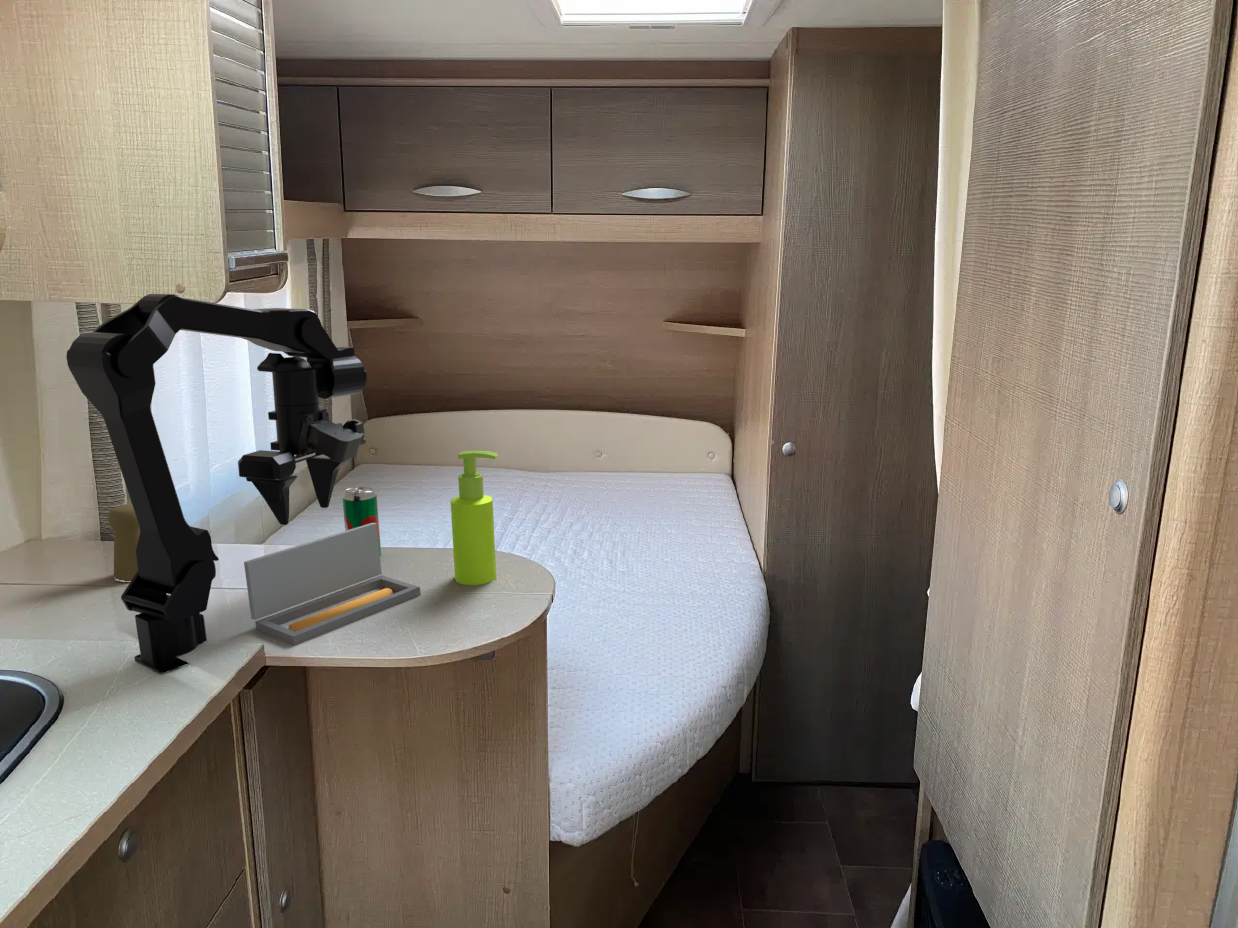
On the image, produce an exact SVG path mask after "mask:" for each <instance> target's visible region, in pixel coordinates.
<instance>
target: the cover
mask: <svg viewBox="0 0 1238 928" xmlns="http://www.w3.org/2000/svg"><path fill="white" fill-rule="evenodd" d="M243 564H244V565H243V566H244V567H243V568H244V573H245V580H246V588H247V595H248V603H249V609H250V611H249V612H250V617H251V618H250V619H252V620H255V621H257V620H260V619H263V618H266V617H268V616H271V615H274V614H277V613H279V612H280V611H281V612H282V611H285V610H288V609H290V608H291V607H292V608H293V607H296V606H299V605H301V604H304V603H307V602H310V601H313V599H314V600H315V599H318V598H321V597H324V596H326V595H329V594H332V593H335V592H337V591H340V590H343V589H346V588H348V587H351V586H354V585H357V584H359V583H362V582H365V581H368V580H370V579H373V578H376V577H379V576H381V575H382V565H381V557H380V552H379V543H378V533H377V523H370V524H366V525H363V526H360V527H357V528H353V529H350V530H347V531H345V530H344V531H340V532H338V533H334V534H330V535H327V536H325V537H322V538H318V539H315V540H312V541H308V542H305V543H303V544H299V545H295V546H292V547H289V548H285V549H281V550H279V551H276V552H273V553H270V554H266V555H262V556H260V557H256V558H252V559H250V560H246V561H244V562H243Z"/></svg>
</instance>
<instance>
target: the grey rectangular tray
mask: <svg viewBox="0 0 1238 928" xmlns="http://www.w3.org/2000/svg"><path fill="white" fill-rule="evenodd" d="M379 588H384V589H385V588H389V589H391V590H392V591H395V592H393V594H392V595H389V596H387V597H384V598H381V599H379V600H376V601H374V602H371V603H369V604H366V605H363V606H361V607H358V608H356V609H353V610H351V611H348V612H345V613H343V614H340V615H338V616H335V617H333V618H330V619H327V620H325V621H322V622H320V623H317V624H315V625H312V626H309V627H307V628H304V629H302V630H299V631H297V632H295V631H292V630H290V629H289V628H287V627H284V626H282V625H283V624H286V623H289V622H291V621H293V620H296V619H299V618H302V617H304V616H306V615H310V614H312V613H315V612H318V611H320V610H323V609H326V608H329V607H330V606H333V605H337V604H338V603H341V602H345V601H346V600H349V599H352V598H354V597H357V596H360V595H363V594H365V593H368V592H370V591H371V592H372V591H373V590H376V589H379ZM418 596H421V586H418V585H415V584H411V583H409V582H408V583H407V582H405V581H402V580H399V579H396V578H395V579H394V578H391V577H388V576H386V575H382V574H380V575H378V576H375V577H372V578H369V579H367V580H364V581H361V582H358V583H356V584H353V585H350V586H347V587H345V588H342V589H339V590H336V591H334V592H331V593H328V594H326V595H323V596H320V597H317V598H315V599H314V600H313V599H312V600H309V601H306V602H304V603H301V604H298V605H295V606H293V607H292V608H291V607H290V608H287V609H284V610H282V611H281V612H280V611H279V612H276V613H273V614H271V615H268V616H265V617H262V618H260V619H257V620H255V621H254V623H255V630H256V631H258V632H260V633H263V634H265V635H267V636H270V637H272V638H275V639H278V640H280V641H281V642H282V641H283V642H285V643H287V644H290V645H292V646H296V645H299V644H302V643H304V642H307V641H309V640H311V639H315V638H317V637H319V636H321V635H323V634H326V633H329V632H332V631H334V630H336V629H339V628H341V627H344V626H346V625H349V624H351V623H353V622H356V621H358V620H361V619H364V618H366V617H369V616H372V615H373V614H374V615H375V614H376V613H378V612H381V611H383V610H387V609H389V608H391V607H393V606H396V605H398V604H401V603H403V602H406V601H409V600H411V599H413V598H416V597H418Z"/></svg>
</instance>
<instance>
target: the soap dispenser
mask: <svg viewBox="0 0 1238 928" xmlns="http://www.w3.org/2000/svg"><path fill="white" fill-rule="evenodd" d="M498 455H499V453H498V452H494V451H491V450H490V451H489V450H480V449H479V450H478V449H477V450H466V451H465V450H464V451H460V452H459V453H458V455H457V456H458V457H457V459H458V460H459V459H462V460H463V472H462V473H461V474H459V475H458V477H457V479H458V496H455V497H453V498H451V499H450V514H451V515H450V516H451V531H452V548H453V563H454V565H453V566H454V579H455V582H456V583H457V584H460V585H465V586H480V585H485V584H489V583H492V582H493V581H497V565H496V564H497V563H496V544H495V525H494V524H495V522H494V521H495V519H494V518H495V517H494V501H493V500H494V499H493V497H492V496H490V495H488V494H484V479H483V474H482V473H479V471H477V459H478V458H480V459H481V458H482V459H483V458H484V459H491V460H495V459H496V458H497V457H498Z"/></svg>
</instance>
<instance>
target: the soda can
mask: <svg viewBox="0 0 1238 928" xmlns="http://www.w3.org/2000/svg"><path fill="white" fill-rule="evenodd" d="M343 492H344V494H343V496H342V507H343V508H342V509H343V518H344V520H343V521H344V531H347V530H350V529H353V528H357V527H360V526H363V525H366V524H370V523H377V533H378V543H379V552H380V558H381V557H382V548H381V544H382V543H381V535H380V534H381V533H380V532H381V531H380V519H379V508H378V507H379V506H378V505H379V504H378V496H377V494H376V492H375V489H374V487H371V486H354V487H349V488H347V489H345V490H344V491H343Z"/></svg>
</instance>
